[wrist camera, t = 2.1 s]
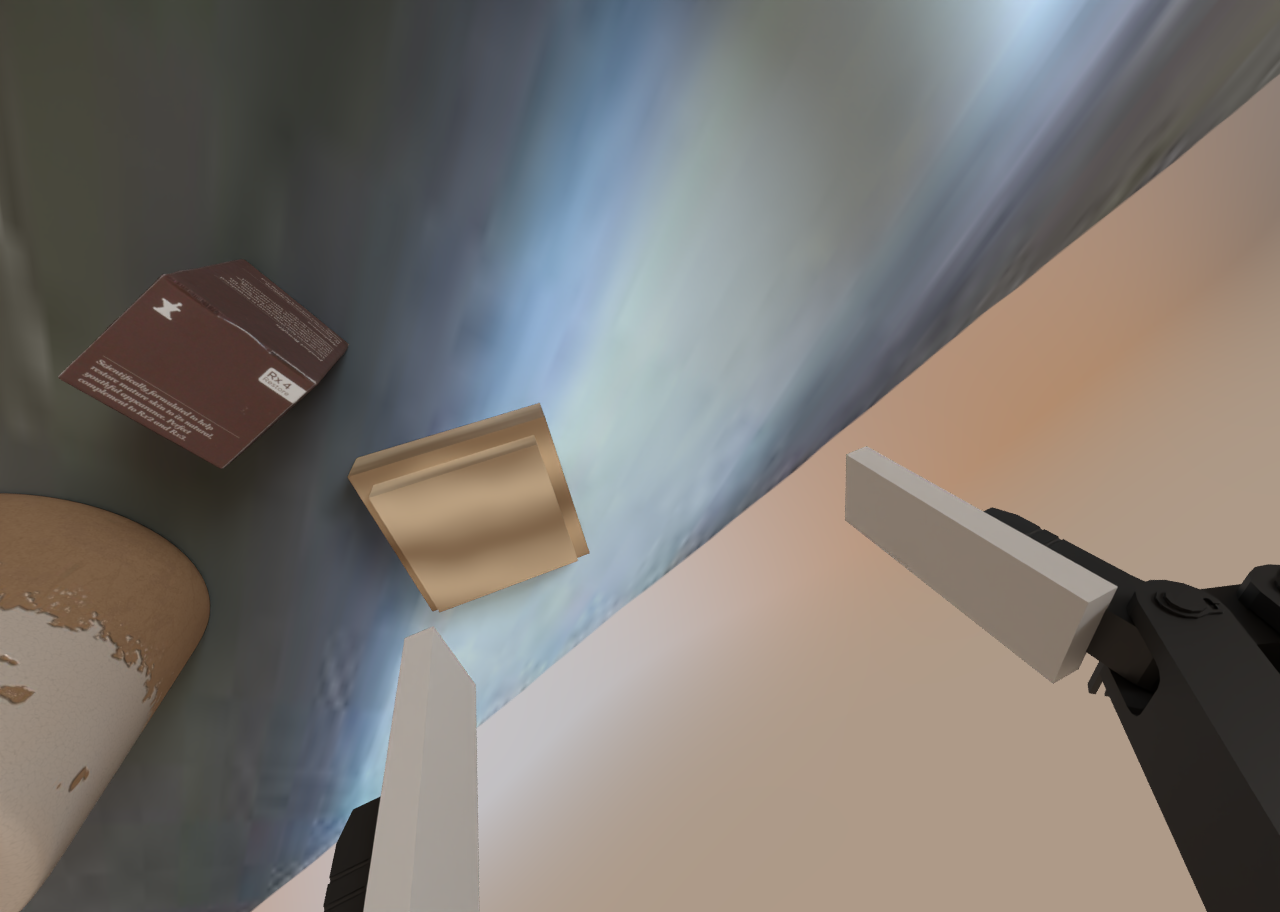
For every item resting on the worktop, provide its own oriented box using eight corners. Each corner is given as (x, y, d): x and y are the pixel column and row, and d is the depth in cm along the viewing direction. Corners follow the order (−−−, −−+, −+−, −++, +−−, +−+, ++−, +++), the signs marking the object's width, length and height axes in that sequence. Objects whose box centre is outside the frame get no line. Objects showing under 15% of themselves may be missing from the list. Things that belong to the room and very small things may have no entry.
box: (160, 333, 23) (46, 375, 17) (244, 254, 23) (160, 268, 17) (279, 413, 26) (220, 473, 20) (354, 345, 26) (318, 385, 20)
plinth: (356, 458, 29) (341, 489, 25) (539, 403, 31) (547, 425, 28) (434, 587, 35) (431, 627, 31) (582, 534, 37) (594, 565, 34)
